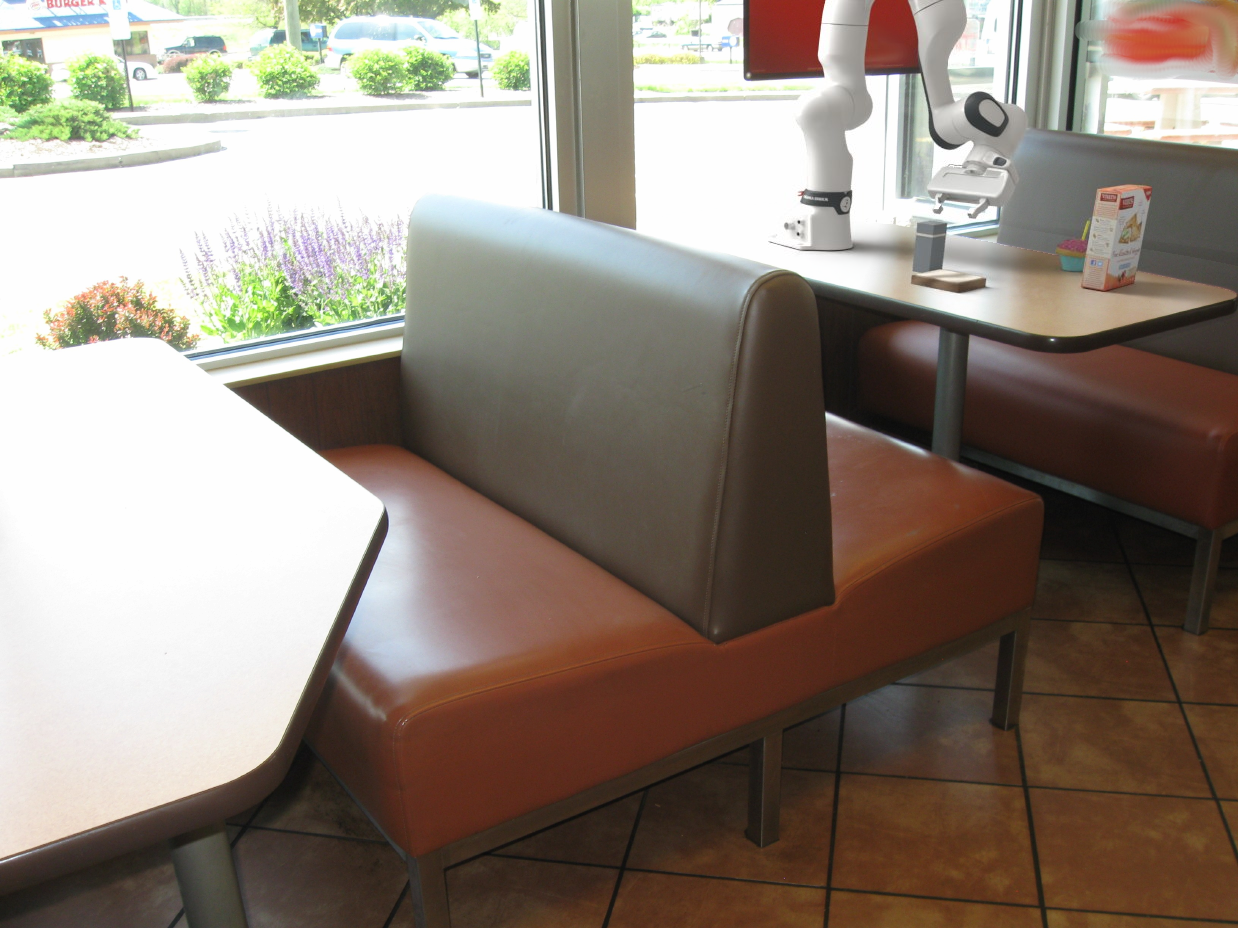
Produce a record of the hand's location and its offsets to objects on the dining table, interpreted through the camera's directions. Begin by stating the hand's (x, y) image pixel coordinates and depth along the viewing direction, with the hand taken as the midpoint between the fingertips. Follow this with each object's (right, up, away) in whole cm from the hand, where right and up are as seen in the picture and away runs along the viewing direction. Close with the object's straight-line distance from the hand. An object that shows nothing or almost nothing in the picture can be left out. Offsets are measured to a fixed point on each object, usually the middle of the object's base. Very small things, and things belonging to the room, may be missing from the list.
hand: (953, 214), depth 251 cm
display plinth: (-5, -18, -14) cm, 24 cm away
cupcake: (+28, -12, +2) cm, 31 cm away
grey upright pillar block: (-6, -13, 0) cm, 14 cm away
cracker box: (+29, -19, -14) cm, 38 cm away
